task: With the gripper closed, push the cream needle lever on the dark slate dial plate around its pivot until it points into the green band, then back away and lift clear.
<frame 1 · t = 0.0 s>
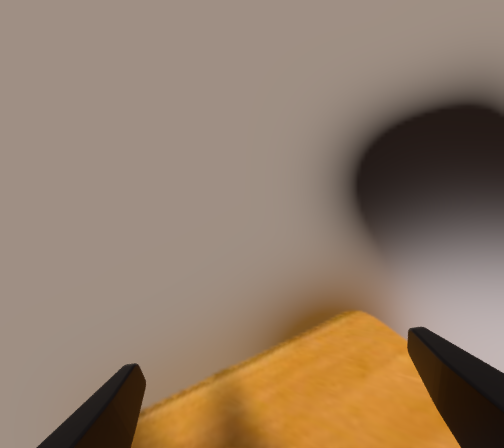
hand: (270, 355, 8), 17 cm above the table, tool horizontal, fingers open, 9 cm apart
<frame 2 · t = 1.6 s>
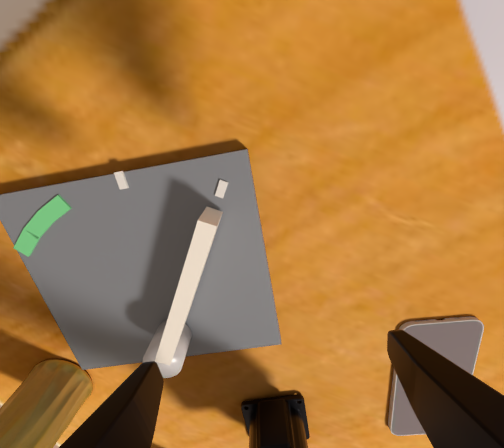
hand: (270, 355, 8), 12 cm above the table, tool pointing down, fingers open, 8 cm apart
dial plate: (155, 272, 21), on the table
lever: (185, 296, 19), point 3 cm above the table, hinge at -30.0°
vase: (65, 378, 26), on the table
smartphone: (426, 374, 26), on the table
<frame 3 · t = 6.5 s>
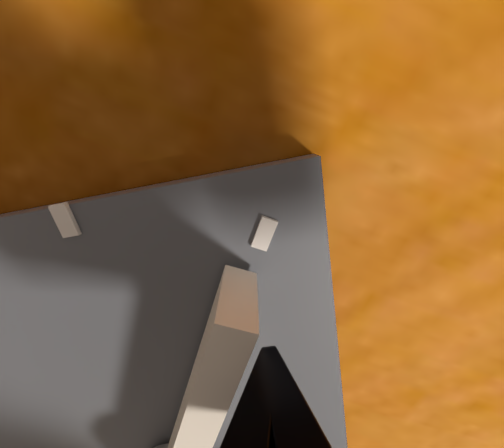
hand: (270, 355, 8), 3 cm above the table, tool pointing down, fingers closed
dial plate: (140, 363, 12), on the table
lever: (191, 430, 10), point 3 cm above the table, hinge at -28.3°, touching gripper
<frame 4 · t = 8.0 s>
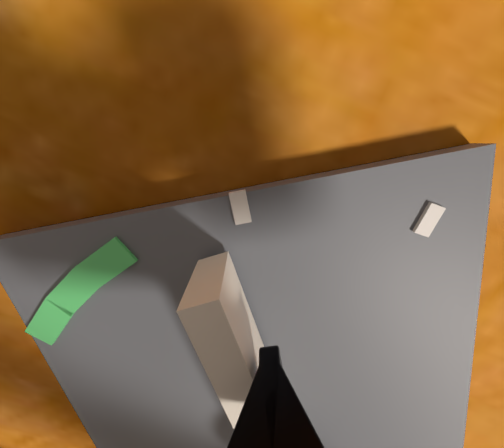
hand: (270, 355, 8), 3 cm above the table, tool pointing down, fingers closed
dial plate: (263, 355, 13), on the table
lever: (266, 418, 10), point 3 cm above the table, hinge at 6.6°, touching gripper
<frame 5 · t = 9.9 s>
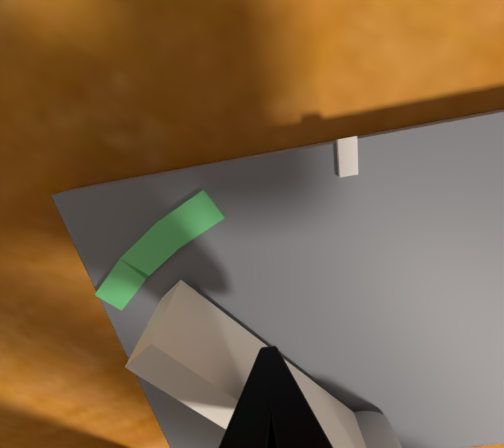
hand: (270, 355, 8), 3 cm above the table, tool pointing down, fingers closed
dial plate: (335, 327, 12), on the table
lever: (295, 413, 10), point 3 cm above the table, hinge at 35.2°, touching gripper
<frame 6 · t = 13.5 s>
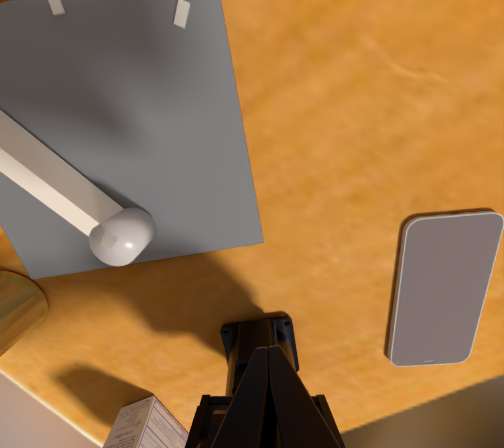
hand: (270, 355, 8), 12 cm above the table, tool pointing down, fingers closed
dial plate: (110, 149, 18), on the table
medicine box: (159, 419, 28), on the table
lever: (54, 180, 16), point 3 cm above the table, hinge at 35.6°
vase: (16, 297, 22), on the table
smartphone: (433, 291, 22), on the table
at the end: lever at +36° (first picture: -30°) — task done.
